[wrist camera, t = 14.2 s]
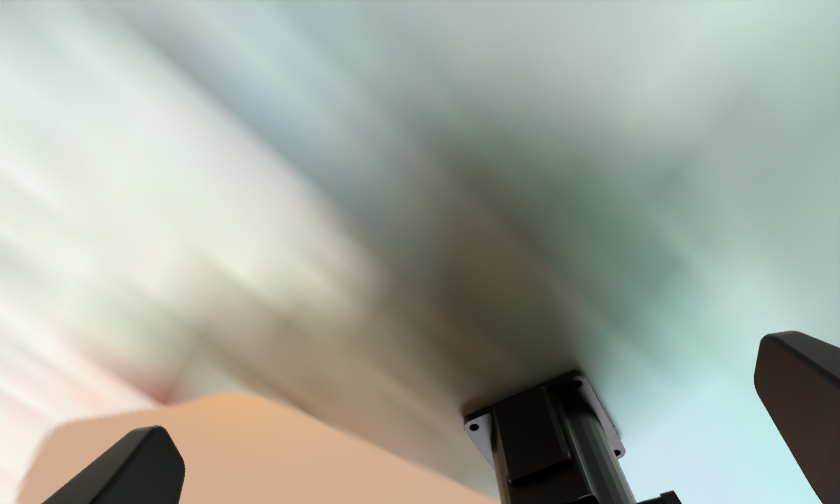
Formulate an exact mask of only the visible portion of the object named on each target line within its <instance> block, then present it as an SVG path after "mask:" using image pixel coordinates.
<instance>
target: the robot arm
mask: <svg viewBox="0 0 840 504" xmlns="http://www.w3.org/2000/svg"><path fill="white" fill-rule="evenodd" d="M575 380H579V381H577V382H574V381H575ZM754 385H755V389H756V391H757V394H758V396H759V397H760V399H761V401H762V403H763V404H764V406H765V408H766V409H767V411H768V413H769V415H770V416H771V418H772V420H773V422H774V423H775V425H776V427H777V428H778V430H779V432H780V434H781V435H782V437H783V439H784V441H785V442H786V444H787V446H788V447H789V449H790V451H791V453H792V454H793V456H794V458H795V460H796V461H797V463H798V465H799V466H800V468H801V470H802V472H803V473H804V475H805V477H806V478H807V480H808V482H809V483H810V485H811V487H812V488H813V490H814V491H815V493H816V495H817V496H818V497H819V499H820V500H821V502H822V503H823V504H840V348H839V347H836V346H834V345H831V344H829V343H826V342H824V341H821V340H819V339H816V338H814V337H811V336H809V335H806V334H804V333H801V332H798V331H785V332H778V333H772V334H767V335H765V336H764V337H763V338H762V339H761V341H760V345H759V351H758V356H757V362H756V367H755V373H754ZM463 423H464V429H465V431H466V433H467V434H468V435H469V437H470V438H471V439H472V441H473V442H474V443H475V445H476V446H477V447H478V449H479V450H480V451H481V453H482V454H483V456H484V457H485V458H486V460H487V461H488V462H489V464H490V465H491V466H492V468H493V469H494V470H495V472H496V477H497V483H498V488H499V494H500V499H501V504H682V503H681V502H680V500H679V498H678V497H677V495H676V494H675V492H674V491H673V490H672V491H669V492H665V493H661V494H660V497H657V498H653V499H649V500H646V501H642V502H638V503H637V502H636V500H635V498H634V496H633V493H632V491H631V489H630V487H629V484H628V482H627V480H626V478H625V475H624V473H623V471H622V469H621V467H620V464H619V462H618V460H617V459H620V458H622V457H623V456H624V455H625V448H624V446H623V444H622V442H621V440H620V439H619V437H618V435H617V433H616V431H615V429H614V427H613V426H612V424H611V422H610V420H609V418H608V416H607V415H606V413H605V411H604V409H603V407H602V405H601V404H600V402H599V400H598V398H597V396H596V394H595V393H594V391H593V389H592V387H591V385H590V383H589V382H588V380H587V378H586V376H585V374H584V373H583V372H581V371H579V370H574V371H571V372H568V373H566V374H564V375H561V376H559V377H557V378H554V379H552V380H550V381H547V382H545V383H543V384H540V385H538V386H536V387H533V388H531V389H529V390H526V391H524V392H522V393H519V394H517V395H515V396H512V397H510V398H508V399H505V400H503V401H501V402H498V403H496V404H494V405H491V406H489V407H487V408H484V409H482V410H480V411H477V412H475V413H473V414H470V415H468V416H467V417H465V419H464V422H463ZM471 424H476V425H471ZM184 477H185V465H184V461H183V458H182V457H181V455H180V453H179V451H178V449H177V448H176V446H175V444H174V442H173V441H172V439H171V437H170V435H169V434H168V432H167V431H166V429H165V428H163V427H162V426H158V425H155V426H148V427H142V428H137V429H134V430H132V431H130V432H129V433H128V434H126V435H125V436H124V437H123V438H121V439H120V440H119V441H118V442H117V443H115V444H114V445H113V446H112V447H110V448H109V449H108V450H107V451H106V452H104V453H103V454H102V455H101V456H100V457H98V458H97V459H96V460H94V461H93V462H92V463H91V464H90V465H88V466H87V467H86V468H85V469H83V470H82V471H81V472H80V473H79V474H77V475H76V476H75V477H74V478H72V479H71V480H70V481H69V482H68V483H66V484H65V485H64V486H63V487H61V488H60V489H59V490H58V491H57V492H55V493H54V494H53V495H52V496H50V497H49V498H48V499H47V500H45V501H44V502H43V503H42V504H179V500H180V495H181V491H182V486H183V482H184Z"/></svg>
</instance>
